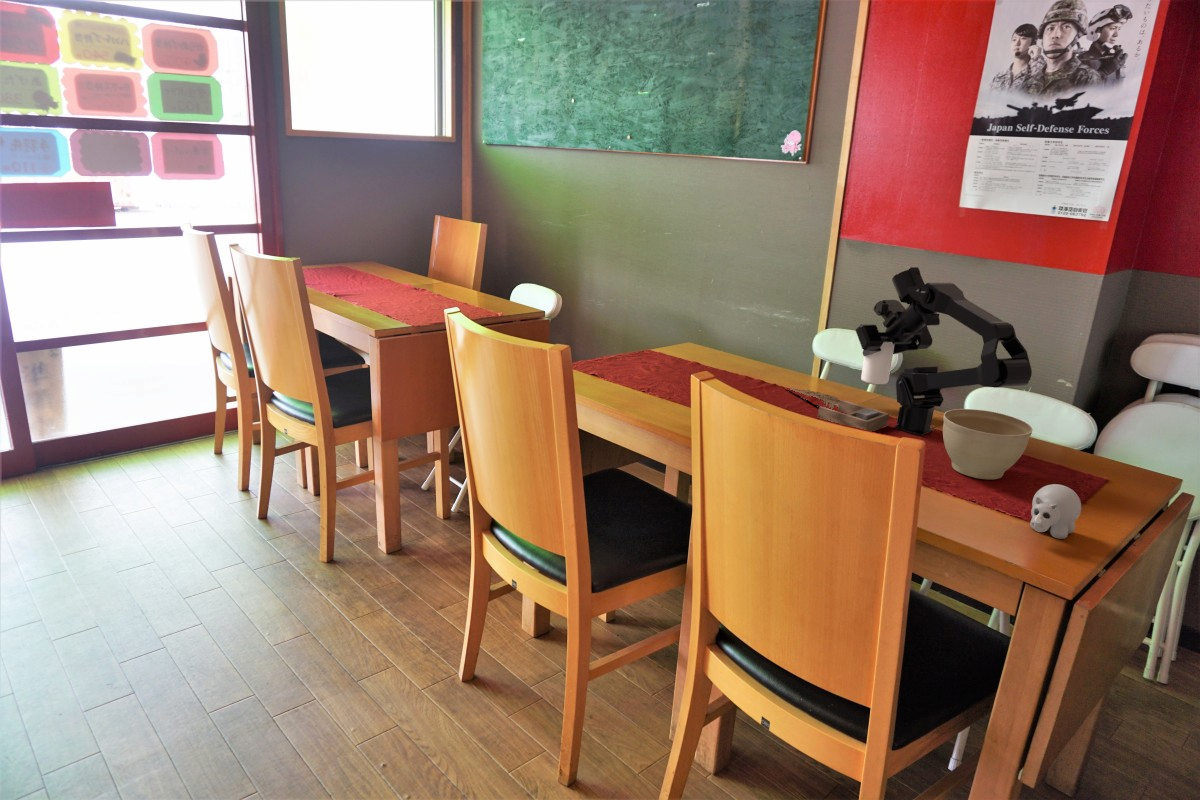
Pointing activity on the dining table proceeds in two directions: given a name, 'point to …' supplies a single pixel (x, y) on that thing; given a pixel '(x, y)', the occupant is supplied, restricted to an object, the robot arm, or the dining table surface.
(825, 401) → the wooden fragment
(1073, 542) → the dining table surface
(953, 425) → the planter bowl
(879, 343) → the robot arm
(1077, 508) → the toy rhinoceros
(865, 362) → the can
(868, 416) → the grey block
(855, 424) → the tray
